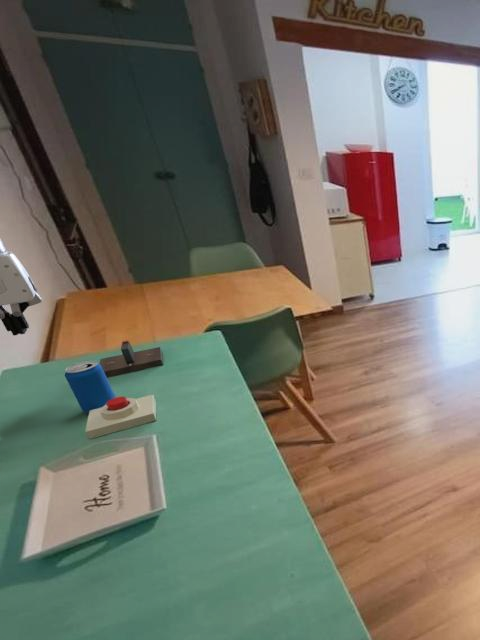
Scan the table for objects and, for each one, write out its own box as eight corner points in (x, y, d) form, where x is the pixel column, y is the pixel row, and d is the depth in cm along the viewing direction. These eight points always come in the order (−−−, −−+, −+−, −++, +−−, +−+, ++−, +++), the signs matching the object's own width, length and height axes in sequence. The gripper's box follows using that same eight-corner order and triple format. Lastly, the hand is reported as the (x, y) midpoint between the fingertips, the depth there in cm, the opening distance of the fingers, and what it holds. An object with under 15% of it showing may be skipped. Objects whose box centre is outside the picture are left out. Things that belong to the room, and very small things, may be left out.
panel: (100, 379, 117) (97, 372, 116) (103, 364, 124) (100, 358, 123) (163, 365, 125) (160, 358, 124) (162, 352, 132) (160, 346, 131)
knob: (133, 362, 122) (127, 347, 120) (126, 363, 121) (120, 348, 119) (134, 354, 126) (128, 339, 124) (127, 355, 125) (121, 341, 123)
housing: (89, 439, 94) (81, 425, 92) (93, 417, 101) (86, 404, 100) (156, 420, 101) (150, 406, 99) (155, 401, 108) (150, 388, 106)
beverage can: (122, 405, 106) (104, 364, 101) (89, 418, 101) (68, 375, 96) (111, 397, 109) (93, 357, 104) (79, 410, 104) (57, 368, 99)
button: (108, 413, 97) (105, 406, 96) (109, 405, 100) (106, 399, 99) (128, 407, 99) (125, 401, 99) (129, 400, 102) (126, 394, 101)
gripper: (-92, 258, 76) (-38, 347, 84) (26, 248, 84) (66, 330, 92) (-77, 249, 81) (-27, 334, 89) (34, 241, 89) (70, 319, 97)
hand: (20, 332), depth 91 cm, fingers closed
